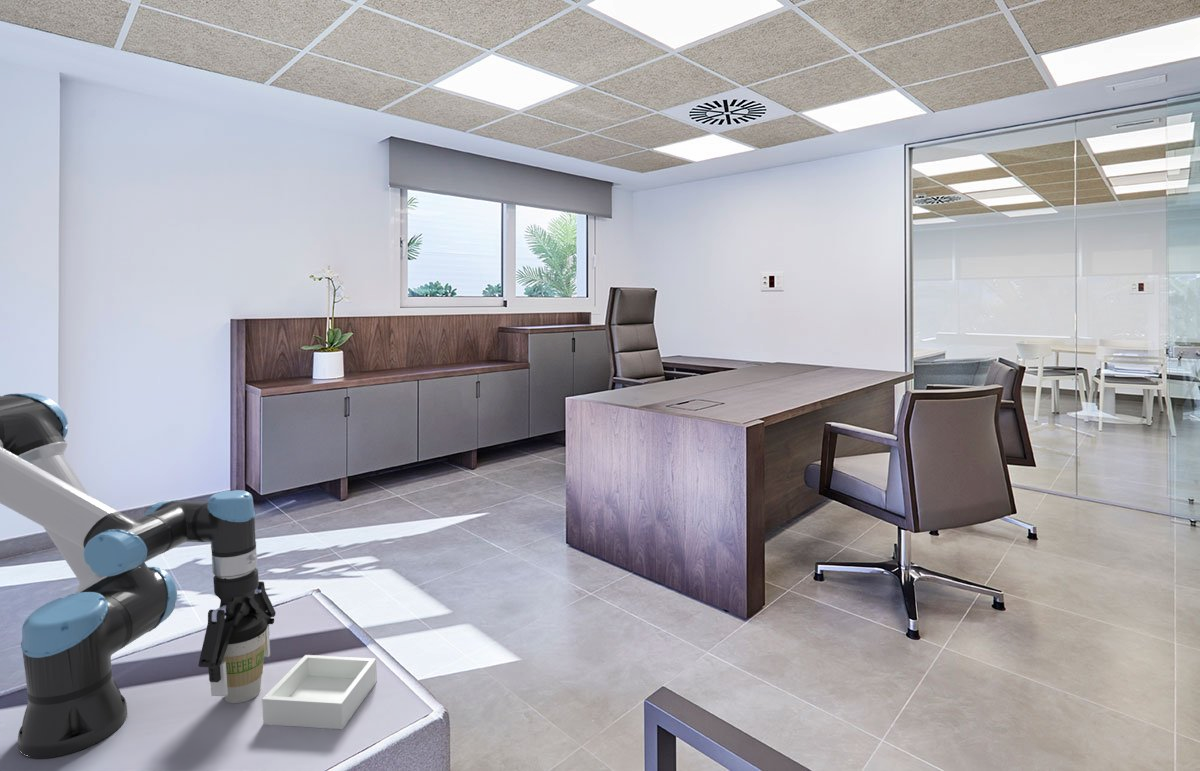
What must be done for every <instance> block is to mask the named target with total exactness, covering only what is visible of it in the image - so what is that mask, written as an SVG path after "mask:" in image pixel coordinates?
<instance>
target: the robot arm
mask: <svg viewBox="0 0 1200 771" xmlns="http://www.w3.org/2000/svg"><path fill="white" fill-rule="evenodd" d="M68 424H69V422H68V418H67V416H66V413H65V412H64V410H63V408H61V406H60V405H59V404H58V402H57V403H56V401H54V400H52V399H51V398H50V397H47V396H45V395H42V394H38V393H32V392H31V393H8V394H4V395H0V504H1V505H3V506H5V508H8V509H10V510H12V511H14V512H16V513H18V514H19V515H20V516H23V517H25V518H27V519H28V520H31V521H32V522H33V523H36V524H38V525H40V526H42V527H43V528H44V531H45V532H46V533H47V535H48V536H49V538H50V539H51V541H52V542H53V544H54V546H55V547H56V548H57V550H58V551H59V553H60V554H61V556H62V557H63V559H64V560H65V562H66V563H67V565H68V566H69V568H70V570H71V571H72V573H73V574H74V575H75V577H76V578H77V580H78V581H79V583H78V586H77V590H76V592H75V593H71V594H68V595H67V596H65V597H58V598H56V599H52V600H51V601H49V602H47V603H45V604H43V605H42V606H40V607H38V608H36V609H35V610H34V611H33V612H31V613H30V614H29V615H28V616H27V618H26V619H25V620H24V622H23V624H22V627H21V628H22V629H21V637H22V638H21V642H20V648H21V652H22V657H23V664H24V665H23V666H24V675H25V681H26V691H27V692H26V693H27V705H26V708H25V711H24V716H23V719H22V724H21V727H20V728H19V731H18V734H17V744H18V750H20V751H21V752H22V753H23V754H25V755H28V756H30V757H29V758H31V757H37V758H36V759H48V758H56V757H61V756H65V755H69V754H73V753H77V752H79V751H81V750H84V749H86V748H88V747H91V746H93V745H95V744H98V743H99V742H101V741H103V740H104V739H106V738H108V737H109V736H111V735H112V734H114V733H115V732H116V731H117V730H118V729H119V728H121V727H122V725H123V724H124V723H125V721H126V720H127V717H128V705H127V704H128V703H127V701H126V699H125V697H124V695H122V693H121V690H120V688H119V687H118V685H117V683H116V681H115V680H114V678H113V668H112V655H114V654H116V652H118V651H120V650H122V649H123V648H125V647H126V646H128V645H129V644H132V642H134V641H136V640H137V639H139V638H141V637H143V636H144V635H145V634H147V633H149V632H151V631H153V630H154V629H156V628H157V627H158V626H160V624H161V623H163V622H164V621H166V620H167V619H168V618H169V617H170V616H171V615H172V613H173V611H175V608H176V603H177V602H178V601H177V600H178V588H177V585H176V582H175V581H174V578H173V577H172V576H171V575H170V573H168V571H166V570H165V569H160V567H157V566H148V565H147V563H146V562H148V561H150V560H152V559H153V558H155V557H157V556H159V555H162V554H165V553H166V552H169V551H170V550H173V549H174V548H176V547H178V546H181V545H183V544H185V543H210V550H211V566H212V569H211V570H212V574H213V591H214V595H215V596H216V597H217V598H218V599H219V600H220V601H219V602H220V604H219V607H218V608H216V609H209V610H208V612H207V625H206V629H205V633H204V638H203V642H202V643H203V644H202V647H201V652H200V657H199V660H198V665H197V666H198V667H199V668H208V669H207V670H208V679H209V680H208V681H209V682H210V683H209V684H210V693H211V694H210V695H211V697H222V698H223V697H224V698H225V696H227V695H228V688H227V673H226V662H224V661H223V658H224V655H225V652H226V649H227V646H228V644H229V641H230V638H231V635H232V632H233V629H234V628H235V627H236V626H237V625H238V622H239V620H241V619H242V617H243V616H245V615H247V614H248V613H260V614H261V615H262V616H263V618H264V619H265V620H266V622H267V629H266V631H265V636H264V638H265V649H264V658H269V657H271V646H270V644H271V643H270V625H274V623H275V618H274V617H275V616H276V614H277V613H276V611H275V608H274V606H273V604H272V602H271V599H270V597H269V595H268V593H267V591H266V587H265V582H264V581H259V569H258V568H257V567H258V554H257V541H256V511H255V506H254V505H255V504H254V498H253V495H252V493H250V492H248V491H246V490H243V489H242V490H240V489H235V490H225V491H221V492H217V493H214V494H212V495H211V496H210V497H208V499H207V500H208V501H207V502H206V501H205V502H204V501H203V502H202V501H186V500H185V501H183V500H175V499H174V500H170V501H169V500H167V501H164V500H163V501H158V502H156V503H154V504H152V505H151V506H150V509H148V510H147V511H146V512H145V514H144V516H141V517H138V518H136V519H134V518H132V517H130V516H128V515H126V514H125V513H122V512H120V511H119V510H116V509H115V508H113V507H112V506H109V505H108V504H106V503H104V502H102V501H100V500H98V498H95V497H93V496H91V495H90V494H89V492H88V491H87V490H86V488H85V486H84V485H83V484H82V482H81V480H80V479H79V477H78V475H77V474H76V473H75V471H74V470H73V468H72V467H71V464H70V463H69V462H68V460H67V459H66V458H65V456H64V453H65V451H66V448H67V446H68V443H67V442H66V440H65V438H66V437H67V435H68V430H69V428H68V427H67V425H68ZM225 618H226V619H227V620H228V621H231V622H228V621H225ZM20 751H19V752H20ZM21 752H20V753H21ZM23 754H22V755H23Z"/></svg>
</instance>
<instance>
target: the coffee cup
mask: <svg viewBox="0 0 1200 771" xmlns="http://www.w3.org/2000/svg"><path fill="white" fill-rule="evenodd" d="M225 621H228V620H227V619H226V618H225ZM228 622H231V621H228ZM266 629H267V622H266V620H265V619H264V618H263V616H262V615H261V614H260V613H248V614H247V615H245V616H243V617H242V619H241V620H239V622H238V625H237V626H236V627H235V628H234V629H233V632H232V635H231V638H230V641H229V644H228V646H227V649H226V652H225V655H224V658H223V661H224V662H226V673H227V688H228V695H227V696H225V697H224V701H225V702H226V703H228V704H241V703H244V702H245V703H246V702H248V701H251V700H252V699H254V698H256V697H257V696H258V695H259V694H260V692H261V686H262V675H263V672H264V671H263V670H264V659H265V657H264V649H265V638H264V636H265V631H266Z"/></svg>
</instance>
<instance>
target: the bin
mask: <svg viewBox="0 0 1200 771" xmlns="http://www.w3.org/2000/svg"><path fill="white" fill-rule="evenodd" d="M377 672H378V671H377V658H373V657H371V658H370V657H354V656H353V657H351V656H335V655H319V654H318V655H316V654H314V655H313V654H305V655H304V656H303V657H302V658H301V659H299V660H298V662H297V663H296V664H295V665H294V666H293V667H292V668H290V669H289V671H288V672H287V673H286V674H284V676H283V677H282V678H280V680H278V682H277V683H276V684H275V685H274V686H273V687H272V688H271V689H270V690H269V691H268V692H267V693H266V695H264V697H263V698H262V699H261V703H262V720H263V721H262V722H263V723H262V724H263V725H270V726H287V727H298V728H299V727H303V728H304V727H305V728H316V729H317V728H321V729H333V730H334V729H336V730H343V729H344V728H345V726H347V724H348V722H349V721H350V719H352V716H354V713H356V711H357V710H358V708H359V707H360V705H361V704H362V703H363V701H364V700H365V699H366V697H367V696H368V694H369V693H370V691H371V690H372V689H373V688H374V686H375V685H376V683H377V681H378V680H377V679H378V677H377Z"/></svg>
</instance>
